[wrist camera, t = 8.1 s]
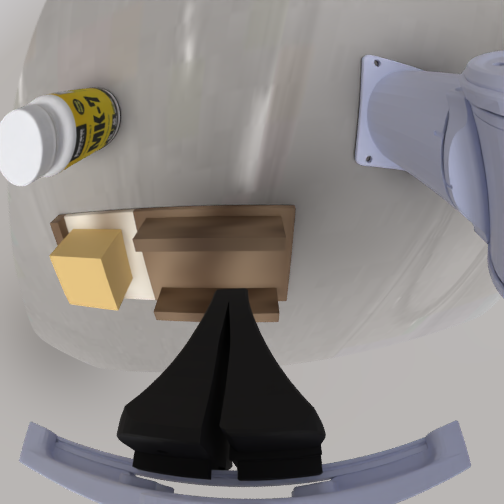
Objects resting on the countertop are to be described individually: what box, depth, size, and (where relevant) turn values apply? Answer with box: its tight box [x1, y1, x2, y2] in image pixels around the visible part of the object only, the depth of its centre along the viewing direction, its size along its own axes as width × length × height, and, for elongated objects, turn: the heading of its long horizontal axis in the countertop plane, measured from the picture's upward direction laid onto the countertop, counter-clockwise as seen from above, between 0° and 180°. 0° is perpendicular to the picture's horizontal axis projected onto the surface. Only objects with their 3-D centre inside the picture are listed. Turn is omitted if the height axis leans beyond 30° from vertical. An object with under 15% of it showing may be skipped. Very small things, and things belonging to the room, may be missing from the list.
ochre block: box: [50, 229, 133, 310], centre depth 20 cm, size 5×5×4 cm
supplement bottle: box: [0, 88, 120, 186], centre depth 12 cm, size 5×5×8 cm
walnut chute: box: [50, 205, 295, 322], centre depth 21 cm, size 20×9×4 cm, turn 90°
